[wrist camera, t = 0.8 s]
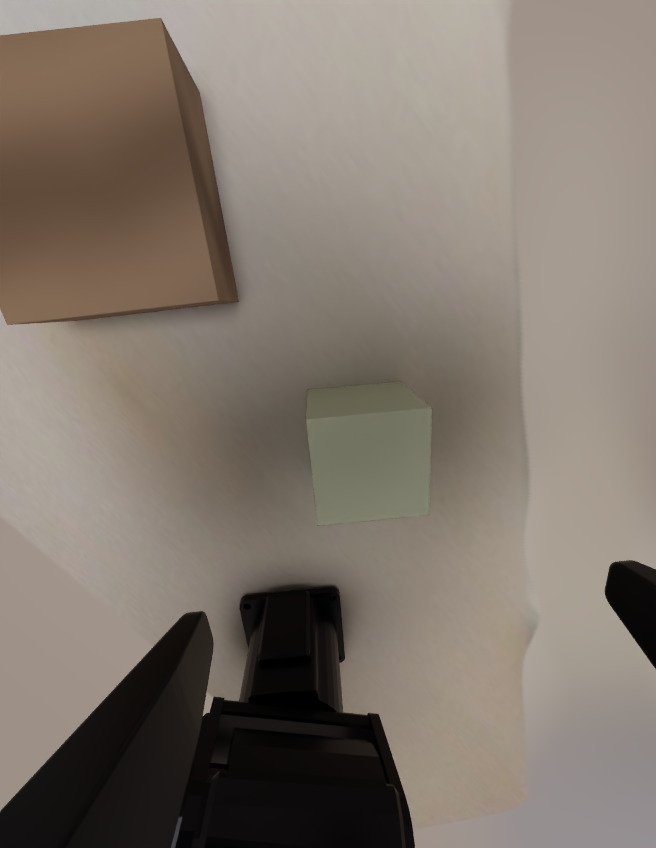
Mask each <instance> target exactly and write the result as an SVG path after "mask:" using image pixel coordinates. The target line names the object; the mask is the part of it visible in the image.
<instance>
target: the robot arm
mask: <svg viewBox="0 0 656 848" xmlns="http://www.w3.org/2000/svg"><path fill="white" fill-rule="evenodd" d="M330 595H334V596H330ZM605 595H606V598H607V601H608V602H609V604H610V606H611V607H612V608H613V610H614V611H615V612H616V614H617V615H618V617H619V618H620V620H621V621H622V622H623V624H624V625H625V626H626V628H627V629H628V631H629V632H630V634H631V635H632V637H633V638H634V639H635V641H636V642H637V644H638V645H639V646H640V648H641V649H642V651H643V652H644V653H645V655H646V656H647V658H648V659H649V660H650V662H651V663H652V665H653V666H654V667H655V668H656V569H653V568H651V567H648V566H646V565H644V564H641V563H639V562H635V561H632V560H629V561H619V562H614V563H612V564H611V565H610V567H609V572H608V577H607V582H606V586H605ZM246 603H247V604H246ZM240 612H241V617H242V621H243V626H244V630H245V635H246V639H247V644H248V655H247V660H246V666H245V671H244V677H243V682H242V688H241V693H240V699H239V702H238V701H228V700H224V698H221V697H214V698H213V702H212V706H211V709H210V713H206V714H205V715H204V716H203V710H204V703H205V697H206V691H207V685H208V679H209V673H210V667H211V660H212V654H213V637H212V633H211V629H210V626H209V622H208V619H207V616H206V614H205V612H203V611H199V612H190V613H186V614H184V615H183V616H182V617H181V618H180V619H179V620H178V621H177V622H176V623H175V624H174V625H173V626H172V627H171V629H170V630H169V631H168V632H167V633H166V634H165V635H164V636H163V637H162V638H161V639H160V640H159V641H158V642H157V644H156V645H155V646H154V647H153V648H152V649H151V650H150V651H149V652H148V653H147V654H146V655H145V657H143V659H142V660H141V661H140V662H139V663H138V664H137V665H136V666H135V667H134V668H133V669H132V670H131V671H130V672H129V674H128V675H127V676H126V677H125V678H124V679H123V680H122V681H121V682H120V683H119V684H118V685H117V686H116V688H115V689H114V690H113V691H112V692H111V693H110V694H109V695H108V696H107V697H106V698H105V699H104V700H103V701H102V703H101V704H100V705H99V706H98V707H97V708H96V709H95V710H94V711H93V712H92V713H91V714H90V716H88V718H87V719H86V720H85V721H84V722H83V723H82V724H81V725H80V726H79V727H78V728H77V729H76V730H75V732H74V733H73V734H72V735H71V736H70V737H69V738H68V739H67V740H66V741H65V742H64V744H62V745H61V747H60V748H59V749H58V750H57V751H56V752H55V753H54V754H53V755H52V756H51V757H50V758H49V759H48V760H47V762H46V763H45V764H44V765H43V766H42V767H41V768H40V769H39V770H38V771H37V772H36V773H35V774H34V776H33V777H32V778H31V779H30V780H29V781H28V782H27V783H26V784H25V785H24V786H23V787H22V788H21V789H20V791H19V792H18V793H17V794H16V795H15V796H14V797H13V798H12V799H11V800H10V801H9V802H8V803H7V805H6V806H5V807H4V808H3V809H2V810H1V811H0V848H415V844H414V837H413V828H412V822H411V817H410V812H409V808H408V804H407V800H406V797H405V794H404V791H403V787H402V784H401V781H400V778H399V775H398V772H397V769H396V766H395V763H394V760H393V757H392V754H391V751H390V748H389V745H388V741H387V738H386V735H385V732H384V729H383V726H382V723H381V720H380V717H379V714H373V713H368V714H367V715H362V714H353V713H343V703H342V691H341V678H340V666H339V663H341V662H343V661H344V659H345V652H344V641H343V629H342V617H341V606H340V595H339V590H338V589H337V588H335V587H328V588H318V589H308V590H298V591H288V592H278V593H268V594H258V595H248V596H244V597H243V598H242V599H241V601H240Z"/></svg>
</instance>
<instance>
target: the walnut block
mask: <svg viewBox="0 0 656 848" xmlns="http://www.w3.org/2000/svg"><path fill="white" fill-rule="evenodd" d="M232 302H239V301H238V295H237V290H236V285H235V279H234V274H233V269H232V263H231V258H230V253H229V247H228V242H227V236H226V231H225V226H224V220H223V215H222V210H221V204H220V199H219V194H218V188H217V183H216V178H215V172H214V167H213V161H212V156H211V151H210V145H209V140H208V135H207V129H206V124H205V119H204V113H203V108H202V102H201V97H200V92H199V90H198V88H197V86H196V85H195V83H194V81H193V79H192V77H191V75H190V73H189V71H188V69H187V67H186V65H185V63H184V62H183V60H182V58H181V56H180V54H179V52H178V50H177V48H176V46H175V44H174V42H173V40H172V39H171V37H170V35H169V33H168V31H167V29H166V27H165V25H164V23H163V21H162V19H161V18H157V19H148V20H138V21H129V22H120V23H111V24H102V25H93V26H84V27H74V28H65V29H56V30H47V31H38V32H29V33H20V34H10V35H1V36H0V309H1V311H2V313H3V316H4V318H5V321H6V323H7V325H12V324H29V323H46V322H63V321H77V320H86V319H94V318H103V317H111V316H120V315H129V314H137V313H146V312H155V311H163V310H172V309H180V308H189V307H198V306H206V305H215V304H224V303H232Z"/></svg>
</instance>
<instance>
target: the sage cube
mask: <svg viewBox="0 0 656 848" xmlns="http://www.w3.org/2000/svg"><path fill="white" fill-rule="evenodd" d="M306 424H307V433H308V442H309V451H310V461H311V470H312V479H313V489H314V498H315V507H316V516H317V526H321V525H332V524H342V523H352V522H363V521H373V520H384V519H394V518H404V517H415V516H425V515H429V507H430V467H431V428H432V408H431V407H430V406H429V405H428V404H427V403H426V402H424V401H423V400H422V399H421V398H420V397H419V396H417V395H416V394H415V393H414V392H413V391H412V390H410V389H409V388H408V387H407V386H406V385H404V384H403V383H402V382H401V381H399V382H388V383H377V384H365V385H354V386H343V387H332V388H321V389H310V390H307V409H306Z"/></svg>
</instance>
